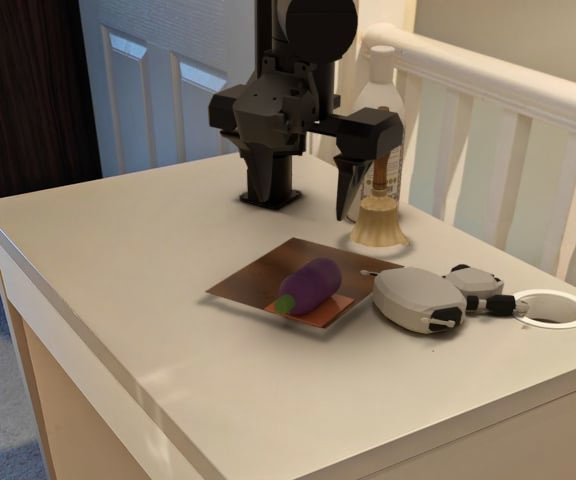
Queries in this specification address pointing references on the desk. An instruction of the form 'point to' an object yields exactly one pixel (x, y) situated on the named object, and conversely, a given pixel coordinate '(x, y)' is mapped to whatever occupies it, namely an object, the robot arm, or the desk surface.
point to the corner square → (320, 310)
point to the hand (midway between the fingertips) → (301, 210)
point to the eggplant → (308, 287)
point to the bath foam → (386, 94)
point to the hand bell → (378, 212)
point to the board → (288, 259)
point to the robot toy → (439, 297)
